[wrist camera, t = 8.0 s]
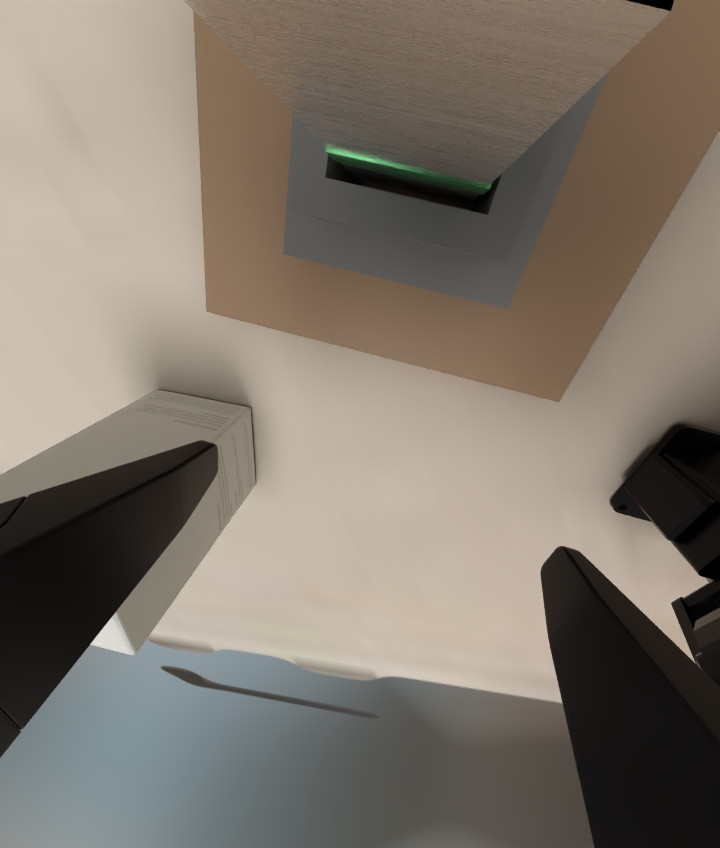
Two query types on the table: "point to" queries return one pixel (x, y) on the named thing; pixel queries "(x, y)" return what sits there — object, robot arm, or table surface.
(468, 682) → the table surface
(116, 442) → the supplement box
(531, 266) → the tan base plate
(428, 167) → the block
